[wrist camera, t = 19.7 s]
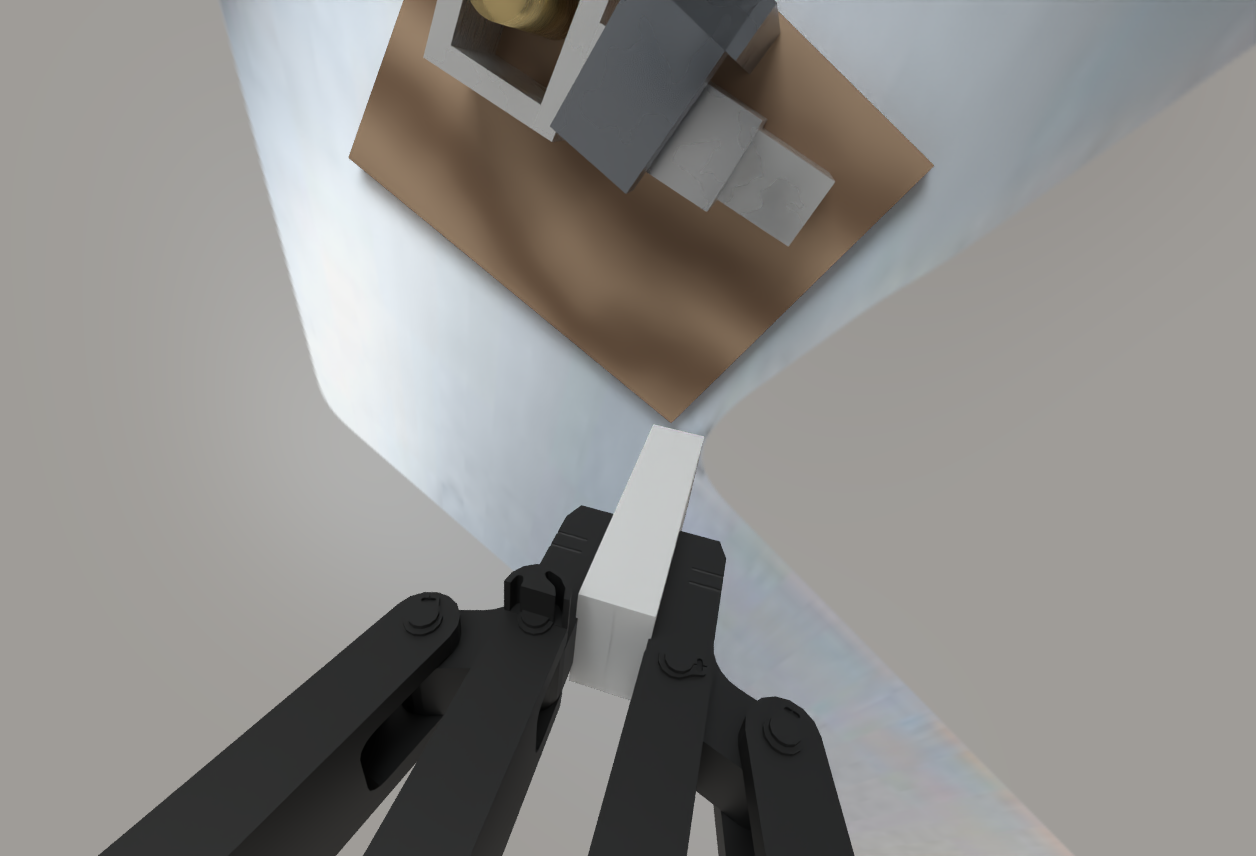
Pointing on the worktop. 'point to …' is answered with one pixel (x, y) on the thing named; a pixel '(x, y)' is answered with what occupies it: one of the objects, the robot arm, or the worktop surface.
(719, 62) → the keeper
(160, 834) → the robot arm
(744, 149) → the link
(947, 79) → the worktop surface
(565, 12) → the brass rounded cylinder
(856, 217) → the board
